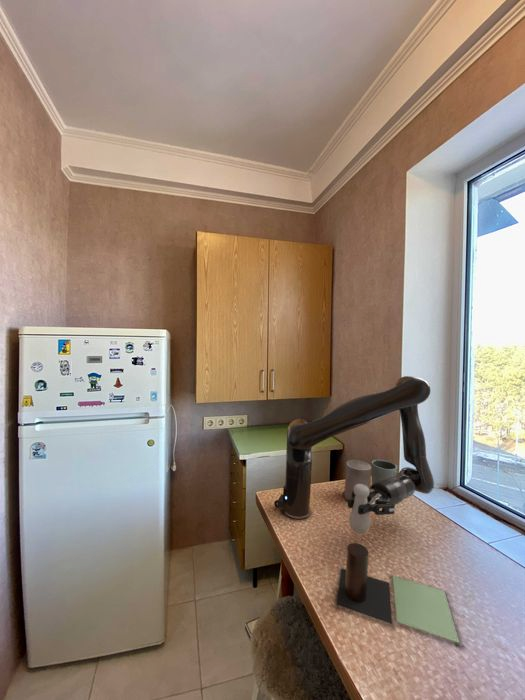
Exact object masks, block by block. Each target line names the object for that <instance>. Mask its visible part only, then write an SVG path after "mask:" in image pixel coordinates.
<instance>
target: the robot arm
mask: <svg viewBox="0 0 525 700" xmlns="http://www.w3.org/2000/svg"><path fill="white" fill-rule="evenodd" d="M430 395H431V385H430V384H429V383H428V382H427V381H426V380H424V379H423V378H420V377H418V376H409V375H403V376H401V377H399V378H398V379H397V380H396V382H395V384H394V387H392V388H390V389H387V390H384V391H381V392H376V393H372V394H366V395H361V396H358V397H355V398H353V399H351V400H350V399H349V400H348V401H345V402H344V403H341V404H339V405H338V406H336V407H335V408H333V409H332V410H331V411H330V412H328V413H327V414H325V415H324V416H322V417H320V418H318V419H315V420H312V421H307V420H305V419H301V418H298V419H295V420H293V421H291V422H290V423H289V425H288V427H287V431H286V450H285V451H286V452H285V453H286V454H285V455H286V456H285V457H286V458H285V478H284V479H285V482H284V485H283V489H282V490H283V491H282V494H280V496H279V497H278V499H276V500H275V501H274V502H273V505H274V507H275V508H276V509H277V508H278V509H281V510H282V511H281V513H282V514H285V515H286V516H287V517H289V518H291V519H296V520H302V519H306V518H308V517H309V516H310V515H311V514H310V513H311V510H310V509H311V489H312V488H311V487H312V486H311V485H312V468H313V467H312V465H313V456H312V449H313V447H314V446H316V445H318V444H320V443H322V442H324V441H325V440H327V439H329V438H331V437H334V436H338V435H340V434H344V433H345V432H348V431H350V430H353V429H356V428H359V427H361V426H364V425H366V424H368V423H370V422H372V421H375V420H378V419H380V418H382V417H384V416H386V415H389V414H391V413H394V412H396V411H399V415H400V422H401V430H402V431H401V432H402V448H403V458H404V460H405V461H406V462H407V463H408V464H410V465H412V466H413V467H410V466H407V467H403V468H401V469H400V471H399V472H398V473H396V476H394V477H391V478H387V479H384V480H381V481H379V482H376V483H374V484H373V485H372V484H371V485H370V488H369V496H368V497H367V501H368V503H367V504H365V505H364V504H362V505H360V506H359V507H358V514H360V515H362V514H366V513H368V512H369V513H374V515H376V516H385V515H395V511H396V509H395V508H396V505H398V504H400V503H402V502H403V501H404V500H406V499H409V498H410V497H412V496H413V495H414V494H415V492H418V493H421V494H424V495H428V494H429V495H430V493H432V491H433V490H434V488H435V480H434V476H433V474H432V471H431V468H430V464H429V462H428V459H427V446H426V437H425V433H424V430H423V427H422V424H421V420H420V416H419V409H418V408H419V407H418V405H420V404H422V403H424V402H426V401H427V400H428V398H430ZM355 496H356V494H354V489H353V491H352V498H351V499H348V500H347V508H349V509H352V508H353V504H354V500H355ZM380 509H381V510H380Z"/></svg>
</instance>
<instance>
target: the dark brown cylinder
mask: <svg viewBox="0 0 525 700" xmlns="http://www.w3.org/2000/svg"><path fill="white" fill-rule="evenodd" d="M369 556H370V554H369V549H368V548H367V547H366V546H365V545H363V544H361V543H357V542H352V543H349V544H348V545H347V546H346V564H345V570H346V580H345V593H346V595H347V597H348V598H349V599H350V600H352V601H354V602H359V603H360V602H363V601H365V599H366V591H367V576H368V571H369V570H368V569H369Z"/></svg>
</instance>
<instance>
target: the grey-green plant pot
mask: <svg viewBox="0 0 525 700" xmlns="http://www.w3.org/2000/svg"><path fill="white" fill-rule="evenodd" d="M370 465H371V486H372V485H373V484H374V483H376V482H379V481H381V480H384V479H387V478H391V477H394V476H397V471H398V466H397V464H396V463H394V462H392V461H389V460H385V459H373V460H372V461H371V463H370Z"/></svg>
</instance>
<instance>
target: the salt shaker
mask: <svg viewBox="0 0 525 700" xmlns="http://www.w3.org/2000/svg"><path fill="white" fill-rule="evenodd" d="M354 494H356V496H355V500H354V504H353V508H351V511H350V515H349V519H348V520H349V525H350V528H351V531H353V532H354V533H355V534H356V535H362V536H364V535H365V534H367V533H368V531H369V529H370V528H371V519H370V512H368V513H366V514H362V515H360V514H358V507H359V506H360V505H362V504H364V505H365V504H367V503H368V501H367V497H368V496H369V488H368V487H367V486H366V485H363V484H356V485H355V486H354Z"/></svg>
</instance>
